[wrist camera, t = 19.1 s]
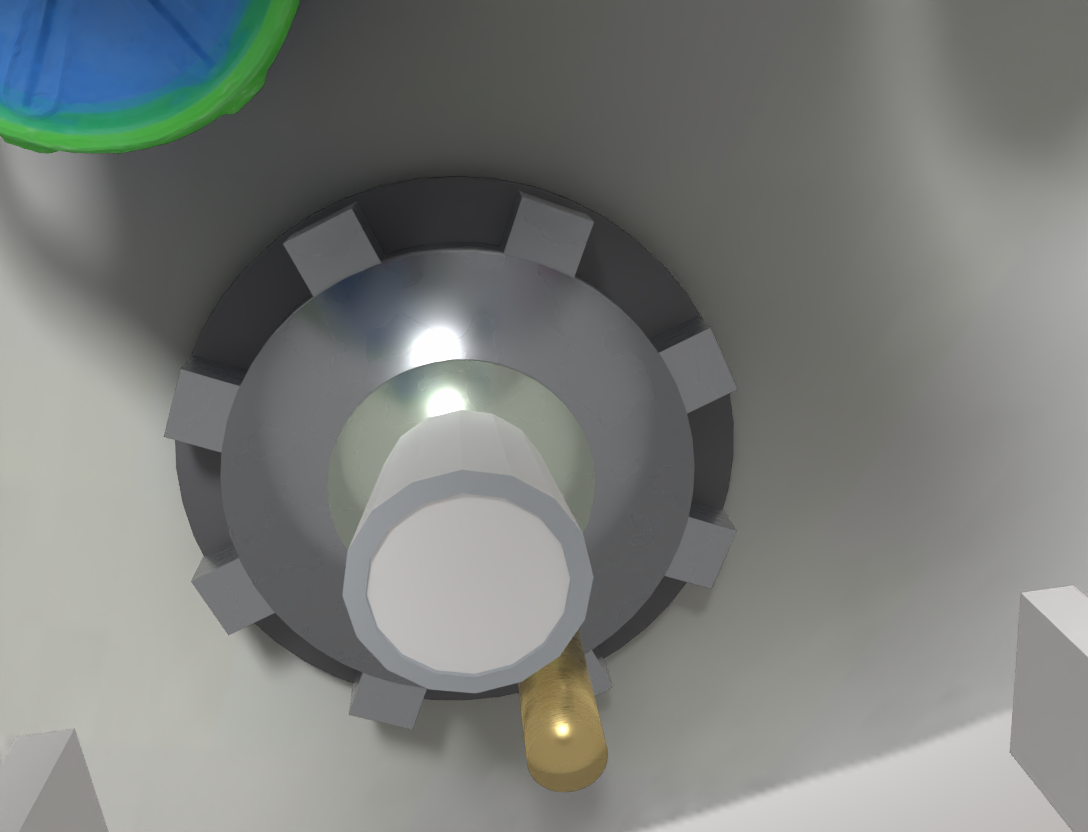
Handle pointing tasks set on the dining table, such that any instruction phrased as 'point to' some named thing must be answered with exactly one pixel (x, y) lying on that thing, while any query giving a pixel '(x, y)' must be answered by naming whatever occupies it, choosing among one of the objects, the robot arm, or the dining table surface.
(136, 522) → the dining table surface
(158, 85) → the snack cup
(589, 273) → the sprocket base
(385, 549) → the shot glass
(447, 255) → the sprocket
